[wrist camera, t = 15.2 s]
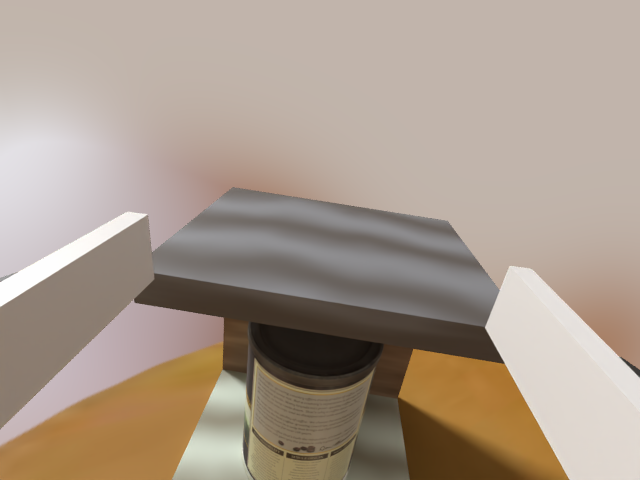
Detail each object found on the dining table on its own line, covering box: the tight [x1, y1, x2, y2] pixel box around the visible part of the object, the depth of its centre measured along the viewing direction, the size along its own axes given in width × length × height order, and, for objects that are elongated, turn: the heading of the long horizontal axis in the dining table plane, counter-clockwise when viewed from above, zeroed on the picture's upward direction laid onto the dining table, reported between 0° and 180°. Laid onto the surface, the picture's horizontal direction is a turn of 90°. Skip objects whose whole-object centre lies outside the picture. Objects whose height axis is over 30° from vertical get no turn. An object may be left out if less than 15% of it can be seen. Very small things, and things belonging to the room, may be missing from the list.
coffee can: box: [242, 322, 384, 480], centre depth 29 cm, size 10×10×14 cm
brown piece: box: [134, 187, 505, 480], centre depth 29 cm, size 16×20×22 cm
